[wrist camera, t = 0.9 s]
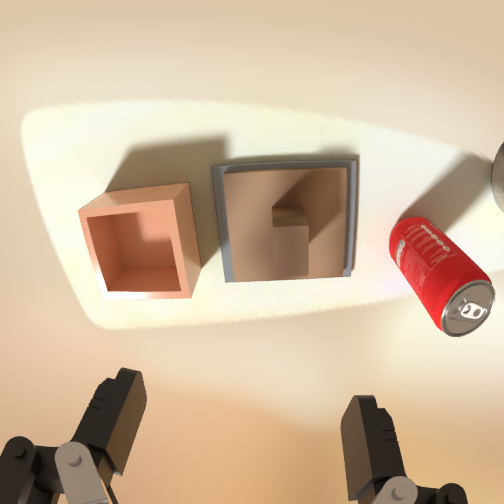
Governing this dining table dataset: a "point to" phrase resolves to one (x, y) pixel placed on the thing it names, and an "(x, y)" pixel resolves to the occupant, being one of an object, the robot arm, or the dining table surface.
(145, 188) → the open salmon box
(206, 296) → the dining table surface
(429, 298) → the beverage can
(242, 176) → the lid
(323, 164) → the mat
